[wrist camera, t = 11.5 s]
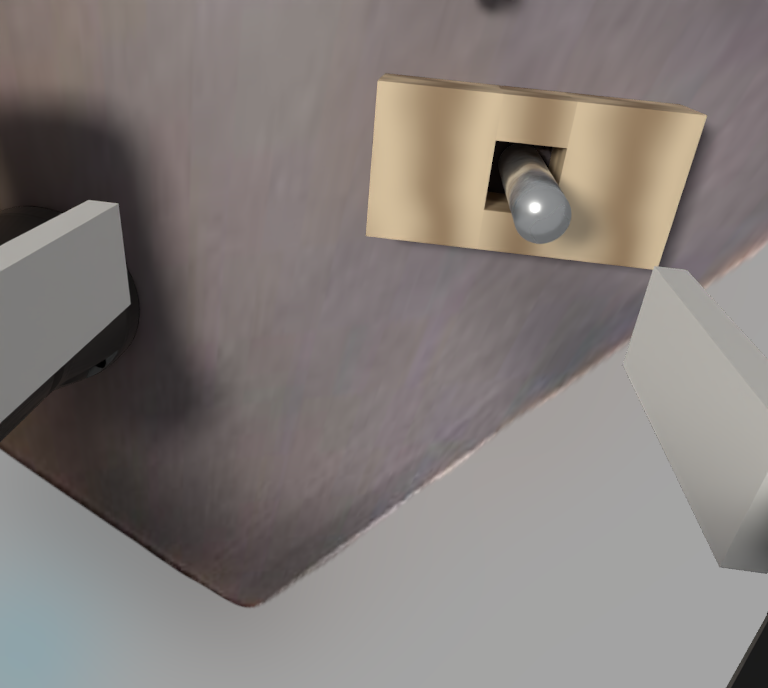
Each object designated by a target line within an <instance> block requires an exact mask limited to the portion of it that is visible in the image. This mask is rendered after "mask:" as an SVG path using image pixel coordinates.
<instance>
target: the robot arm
mask: <svg viewBox="0 0 768 688" xmlns="http://www.w3.org/2000/svg"><path fill="white" fill-rule="evenodd" d="M138 322H139V302H138V296H137V292H136V288H135V285H134V283H133V280H132V278H131V276H130V274H129V272H128V270H127V268H126V261H125V252H124V244H123V236H122V228H121V220H120V212H119V203H110V202H102V201H93V200H87V201H86V202H84V203H82V204H80V205H78V206H76V207H74V208H72V209H70V210H68V211H66V212H64V213H60V212H57V211H54V210H50V209H46V208H40V207H31V206H23V207H14V208H9V209H5V210H2V211H0V442H1V441H2V440H3V439H4V438H5V437H6V436H7V435H8V434H9V433H10V432H11V431H12V430H13V429H14V428H15V427H16V426H17V425H18V424H19V423H20V422H21V421H22V420H23V419H24V418H25V417H26V416H27V415H28V414H29V413H30V412H31V411H32V410H33V409H34V408H35V407H36V406H37V405H38V404H40V403H41V402H42V401H43V400H44V399H45V398H46V397H47V396H48V395H49V394H50V393H51V392H52V391H54V390H56V389H59V388H62V387H64V386H67V385H69V384H72V383H75V382H77V381H80V380H83V379H85V378H88V377H91V376H93V375H95V374H97V373H99V372H101V371H103V370H104V369H106V368H107V367H109V366H110V365H111V364H112V363H113V362H114V361H115V360H116V359H117V358H118V357H119V356H120V355H121V354H122V353H123V352H124V351H125V350H126V349H127V347H128V346H129V345H130V343H131V342H132V340H133V338H134V336H135V333H136V330H137V327H138ZM623 367H624V369H625V371H626V373H627V376H628V378H629V380H630V382H631V384H632V386H633V388H634V390H635V392H636V394H637V396H638V398H639V401H640V402H641V405H642V407H643V409H644V411H645V413H646V415H647V417H648V419H649V421H650V423H651V425H652V428H653V430H654V432H655V433H656V436H657V438H658V440H659V442H660V444H661V446H662V448H663V450H664V452H665V455H666V457H667V459H668V461H669V463H670V465H671V467H672V469H673V471H674V473H675V475H676V477H677V480H678V481H679V484H680V486H681V488H682V490H683V492H684V494H685V496H686V498H687V500H688V502H689V504H690V506H691V509H692V511H693V513H694V515H695V517H696V519H697V521H698V523H699V525H700V527H701V529H702V532H703V534H704V536H705V538H706V539H707V542H708V544H709V546H710V548H711V550H712V552H713V554H714V556H715V559H716V561H717V562H718V564H719V567H722V568H729V569H736V570H744V571H751V572H758V573H766V574H767V573H768V359H767V358H766V357H765V356H764V355H763V354H762V352H761V351H760V350H759V349H758V348H757V347H756V346H755V345H754V344H753V343H752V341H751V340H750V339H749V338H748V337H747V336H746V335H745V334H744V333H743V331H742V330H741V329H740V328H739V327H738V326H737V325H736V324H735V323H734V322H733V320H732V319H731V318H730V317H729V316H728V315H727V314H726V313H725V312H724V310H723V309H722V308H721V307H720V306H719V305H718V304H717V303H716V302H715V301H714V300H713V298H712V297H711V296H710V295H709V294H708V293H707V292H706V291H705V290H704V288H703V287H702V286H701V285H700V284H699V283H698V282H697V281H696V280H695V279H694V277H693V276H692V275H691V274H690V273H689V272H688V271H687V270H683V269H674V268H666V267H657V266H654V268H653V272H652V275H651V278H650V281H649V284H648V287H647V290H646V293H645V296H644V300H643V303H642V306H641V309H640V312H639V315H638V318H637V321H636V325H635V328H634V331H633V334H632V337H631V340H630V343H629V346H628V350H627V353H626V356H625V359H624V362H623ZM726 688H768V613H767V616H766V618H765V620H764V621H763V624H762V625H761V627H760V629H759V630H758V632H757V634H756V636H755V637H754V639H753V641H752V643H751V645H750V646H749V648H748V650H747V652H746V653H745V655H744V657H743V659H742V661H741V663H740V664H739V666H738V668H737V670H736V671H735V673H734V675H733V677H732V679H731V680H730V682H729V684H728V685H727V687H726Z"/></svg>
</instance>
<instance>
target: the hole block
mask: <svg viewBox="0 0 768 688" xmlns="http://www.w3.org/2000/svg"><path fill="white" fill-rule="evenodd" d="M706 118H707V115H705V114H702V113H700V112H697V111H695V110H692V109H690V108H688V107H685V106H683V105H680V104H671V103H661V102H652V101H642V100H633V99H623V98H614V97H604V96H595V95H585V94H576V93H566V92H557V91H547V90H538V89H528V88H519V87H509V86H500V85H490V84H481V83H471V82H462V81H452V80H443V79H433V78H424V77H414V76H405V75H395V74H386V73H385V74H384V75H383V76H382V77H381V78H380V79H379V80H378V84H377V97H376V110H375V123H374V137H373V150H372V163H371V176H370V189H369V202H368V215H367V228H366V236H370V237H379V238H387V239H396V240H404V241H413V242H422V243H430V244H439V245H447V246H456V247H464V248H473V249H481V250H490V251H498V252H507V253H515V254H524V255H533V256H541V257H550V258H558V259H567V260H575V261H584V262H592V263H601V264H609V265H618V266H626V267H635V268H643V269H652V270H653V268H654V266H657V267H658V266H659V263H660V260H661V256H662V253H663V250H664V247H665V244H666V241H667V238H668V235H669V232H670V229H671V226H672V223H673V219H674V216H675V213H676V210H677V207H678V204H679V201H680V198H681V195H682V192H683V189H684V186H685V182H686V179H687V176H688V173H689V170H690V167H691V164H692V161H693V158H694V155H695V152H696V149H697V145H698V142H699V139H700V136H701V133H702V130H703V127H704V124H705V121H706ZM496 141H506V142H515V143H524V144H533V145H542V146H551V147H553V149H552V153H551V158H550V163H549V167H548V169H549V171H550V173H551V174H552V176H553V177H554V179H555V181H556V182H557V184H558V186H559V187H560V189H561V191H562V192H563V194H564V195H565V197H566V199H567V200H568V202H569V204H570V207H571V213H572V214H571V221H570V224H569V226H568V228H567V230H566V231H565V232H564V234H562V235H561V236H560V237H559V238H558V239H556V240H554V241H552V242H549V243H545V244H536V243H532V242H529V241H527V240H525V239H524V238H522V237H521V236H520V234H519V233H518V232H517V230H516V228H515V224H514V221H513V217H512V214H511V211H510V207H509V204H508V200H507V197H506V194H504V193H495V192H487V189H488V183H489V177H490V171H491V165H492V159H493V154H494V148H495V142H496Z"/></svg>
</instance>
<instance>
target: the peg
mask: <svg viewBox="0 0 768 688" xmlns="http://www.w3.org/2000/svg"><path fill="white" fill-rule="evenodd" d="M498 169H499V173H500V176H501V180H502V183H503V187H504V190H505V194H506V197H507V200H508V204H509V207H510V211H511V214H512V217H513V221H514V224H515V228H516V230H517V232H518V233H519V234H520V236H521V237H522V238H524V239H525V240H527V241H529V242H532V243H536V244H545V243H549V242H552V241H554V240H556V239H558V238H559V237H560V236H561V235H562V234H564V232H565V231H566V230H567V228H568V226H569V224H570V221H571V214H572V213H571V207H570V204H569V202H568V200H567V199H566V197H565V195H564V194H563V192H562V191H561V189H560V187H559V186H558V184H557V182H556V181H555V179H554V177H553V176H552V174H551V173H550V171H549V169H548V168H547V166H546V164H545V163H544V161H543V160H542V158H541V156H540V155H539V153H538V151H537V150H536V149H535V148H534V147H533V146H531V145H530V144H524V143H515V144H512V145H510V146H509V147H507V148H506V149H505V150H504V151H503V153H502V154H501V156H500V158H499V162H498Z"/></svg>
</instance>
